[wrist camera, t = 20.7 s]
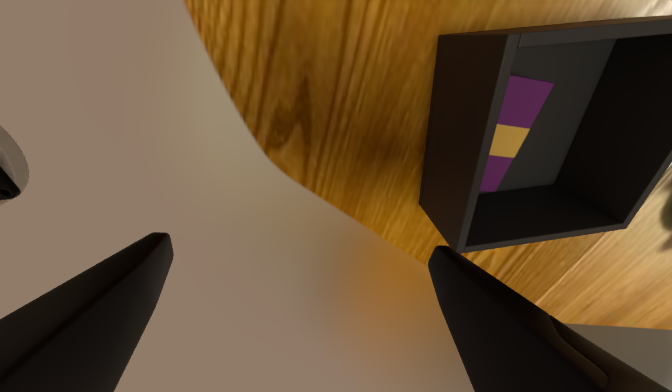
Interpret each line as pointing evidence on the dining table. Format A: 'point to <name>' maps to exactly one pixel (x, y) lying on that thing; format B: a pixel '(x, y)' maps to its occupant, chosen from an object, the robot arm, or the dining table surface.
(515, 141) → the chocolate bar
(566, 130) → the waste bin
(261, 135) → the dining table surface
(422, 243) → the dining table surface
